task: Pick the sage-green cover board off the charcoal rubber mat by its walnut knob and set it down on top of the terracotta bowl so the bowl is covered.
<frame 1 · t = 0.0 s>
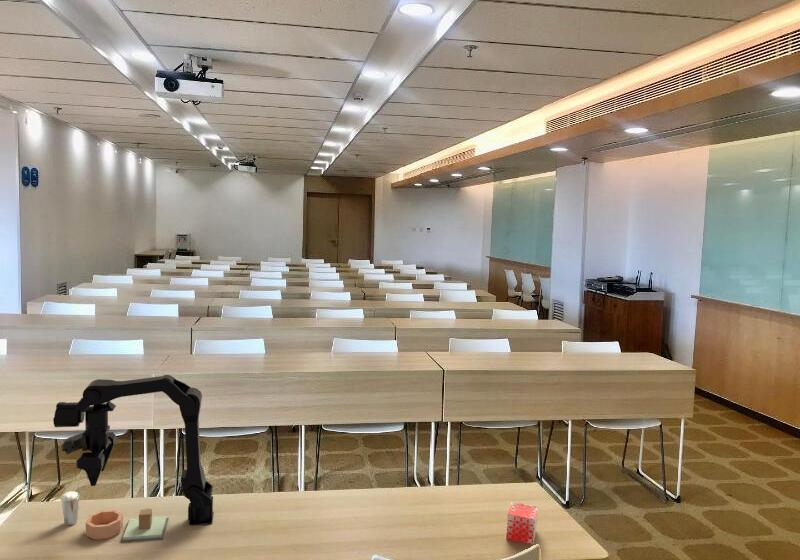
hand: (97, 478, 173), 15 cm above the table, fingers open, 9 cm apart
cover board: (145, 520, 174), on the mat
puzzle cube: (521, 535, 182), on the table
bowl: (104, 531, 172), on the table
mat: (145, 530, 174), on the table
milkshake: (72, 523, 176), on the table
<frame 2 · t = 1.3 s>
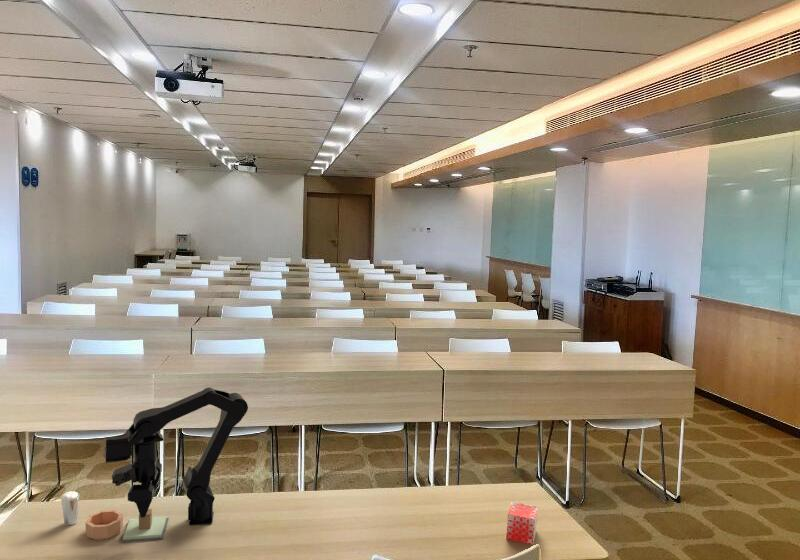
hand: (145, 508, 173), 6 cm above the table, fingers open, 9 cm apart
nothing on the table moved.
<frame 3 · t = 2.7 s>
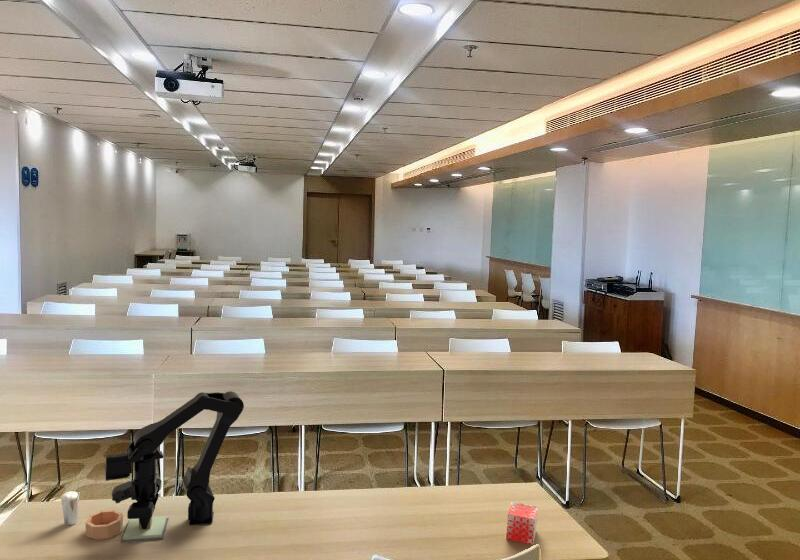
hand: (145, 525, 174), 1 cm above the table, fingers closed on cover board, 3 cm apart
cover board: (145, 520, 174), on the mat, touching gripper
everything else where it was.
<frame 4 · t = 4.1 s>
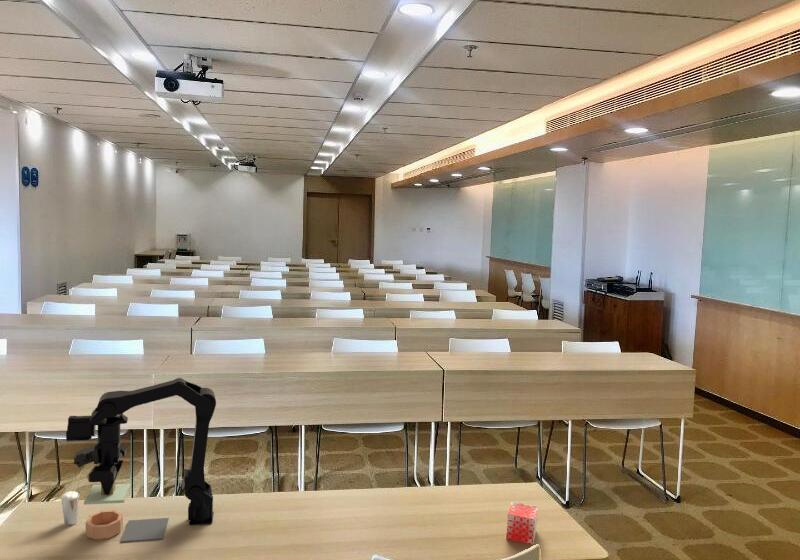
hand: (108, 491, 171), 12 cm above the table, fingers closed on cover board, 3 cm apart
cover board: (108, 486, 171), point 14 cm above the table, touching gripper
everything else where it was.
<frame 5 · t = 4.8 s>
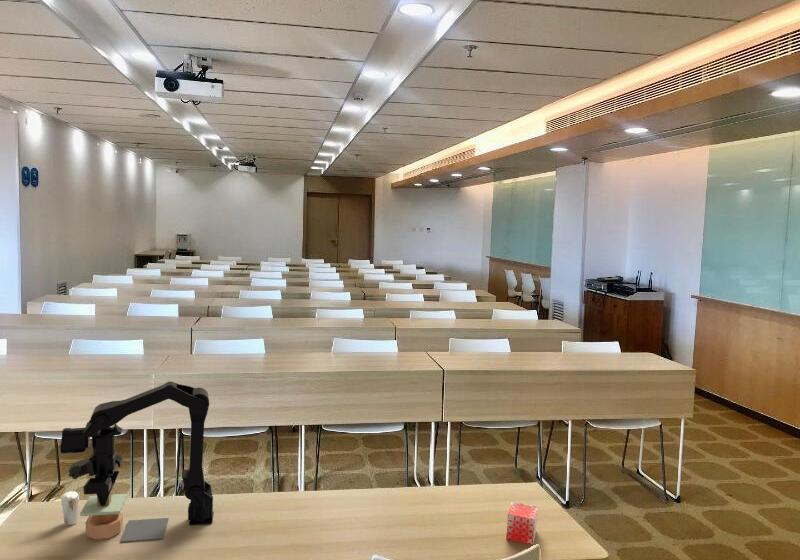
hand: (104, 502, 171), 9 cm above the table, fingers closed on cover board, 3 cm apart
cover board: (104, 497, 171), point 10 cm above the table, touching gripper
everything else where it was.
when the fingers open (6 cm above the table, at t = 5.5 s): cover board stays where it is, resting on bowl.
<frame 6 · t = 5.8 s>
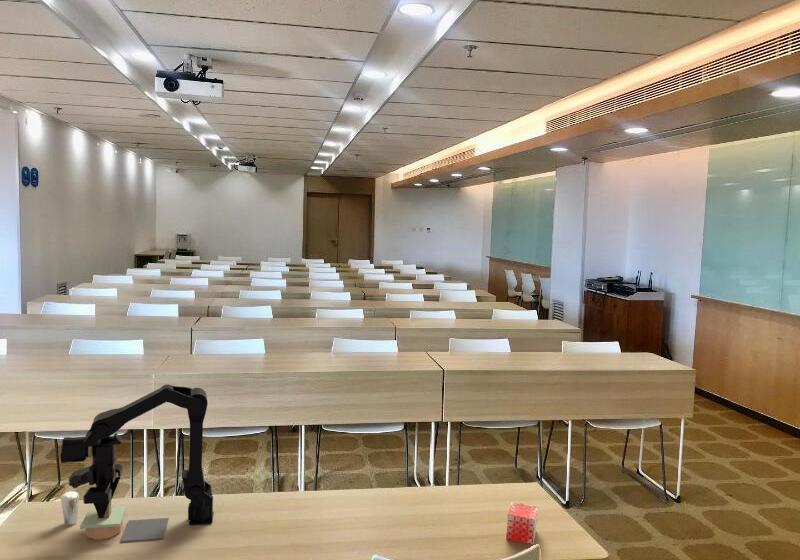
hand: (104, 511, 172), 6 cm above the table, fingers open, 7 cm apart
cover board: (104, 509, 172), on the bowl, point 7 cm above the table
everything else where it was.
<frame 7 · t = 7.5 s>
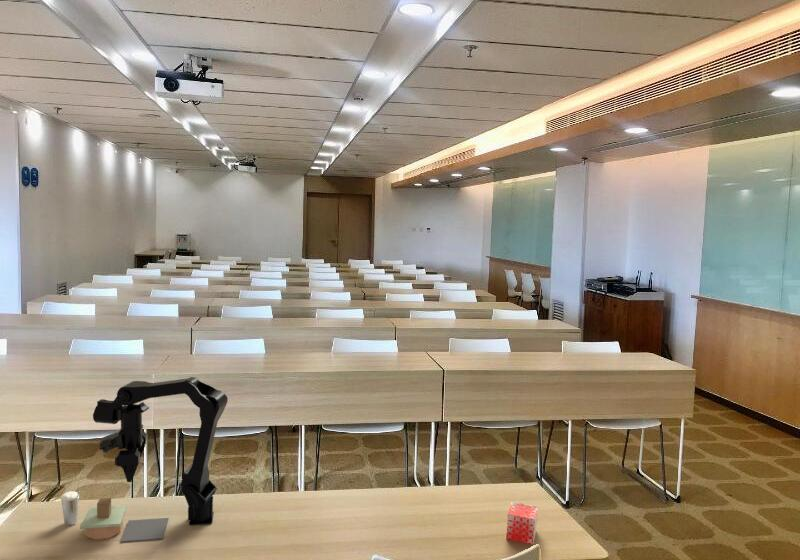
hand: (132, 474, 182), 12 cm above the table, fingers open, 9 cm apart
nothing on the table moved.
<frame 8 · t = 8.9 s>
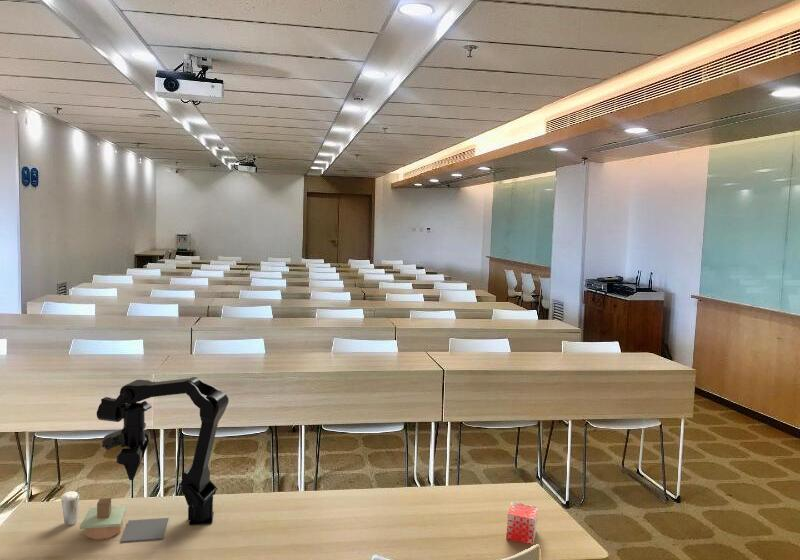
hand: (134, 472, 183), 12 cm above the table, fingers open, 9 cm apart
nothing on the table moved.
at the end: cover board 0.0 cm off-centre on the bowl, point 6.6 cm above the bowl's base; cover board tilted 0°; the gripper is holding nothing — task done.
